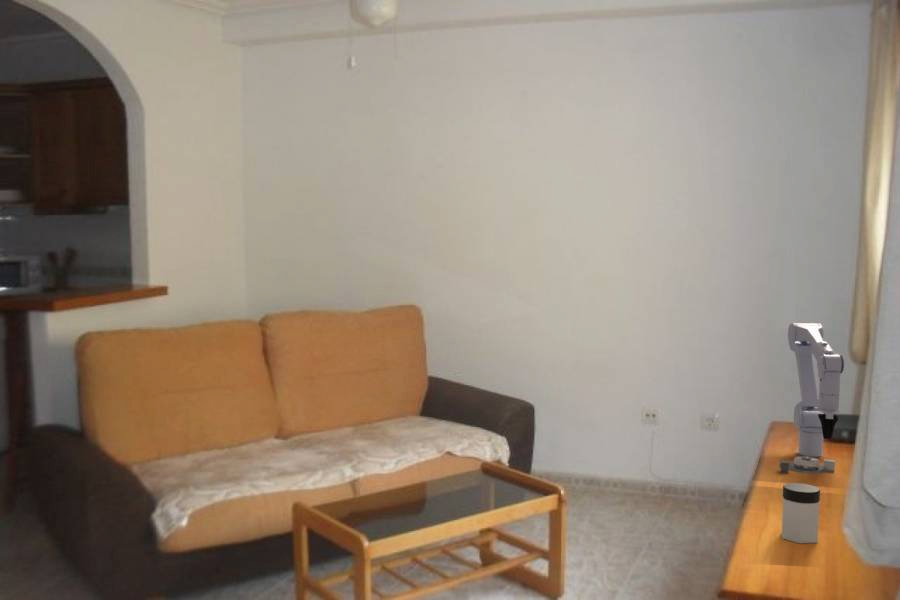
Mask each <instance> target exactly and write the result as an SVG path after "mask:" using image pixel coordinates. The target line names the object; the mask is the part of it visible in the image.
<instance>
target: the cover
mask: <svg viewBox="0 0 900 600" xmlns="http://www.w3.org/2000/svg"><path fill="white" fill-rule="evenodd" d="M793 462H794V468H796V469H799V470H805V471H816V470H818V469H819V465H820V460H819V459H817V458H816V457H812V456H805V455H801V456H795V457H793Z"/></svg>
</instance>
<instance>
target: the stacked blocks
mask: <svg viewBox="0 0 900 600" xmlns="http://www.w3.org/2000/svg"><path fill="white" fill-rule="evenodd" d="M779 462H780V463H779V468H780V474H788V475H789V470H788V469H789V463H790V461H789V460H788V461H787V460H780V461H779Z"/></svg>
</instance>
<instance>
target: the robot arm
mask: <svg viewBox="0 0 900 600" xmlns="http://www.w3.org/2000/svg"><path fill="white" fill-rule="evenodd" d="M823 338H824V327H823V325H822V324H821V323H820V322H817V323H815V322H814V323H813V322H812V323H811V322H809V323H808V322H805V323H803V322H790V324H789V325H788V327H787V339H788V346H789V350H791V351H792V352H793V353H794V354H795V359H796V366H797V373H798V381H799V388H800V396H801V401H799V402H798V403H797V404H796V405H795V406H794V408H793V423H794V426H795V428H796V429H798V430H799V431H798V451H796V454H799V455H801V456H807V457H811V458H817V457H823V455H824V453H823V451H824V450H823V449H824V448H823V447H824V440H825V439H826V440H831V439H832V436H833V435H834V434H833V433H834V431H835V430H834V429H835V425H837V422H838V421H839V415H838V413H839V412H840V388H841V386H840V385H841V374H842V373H844V369H845V361H844V357H843V355H842V354H841V353H836V352H835V351H834V349H833V347H832V346H831V344H830V343H828V342H827V341H824V339H823ZM812 355H813V357H812ZM813 358H814V359H815V360H816V368H817V378H818V379H819V381H818V387H819V388H818V391H817V385H816V378H815V370H814V369H815V368H814V363H813Z"/></svg>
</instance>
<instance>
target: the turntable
mask: <svg viewBox="0 0 900 600" xmlns="http://www.w3.org/2000/svg"><path fill="white" fill-rule="evenodd" d="M835 464H836V461H835V460H833V459H823V465H820V464H819V469H818V470H816V471H805V470H799V469H796V468H794V461H793V462H789V469H788V471H791V472H795V473H802V474H809V475H810V474H816V475H818V474H826V473H828V472H835V471H836V468H835V466H836V465H835Z"/></svg>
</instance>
